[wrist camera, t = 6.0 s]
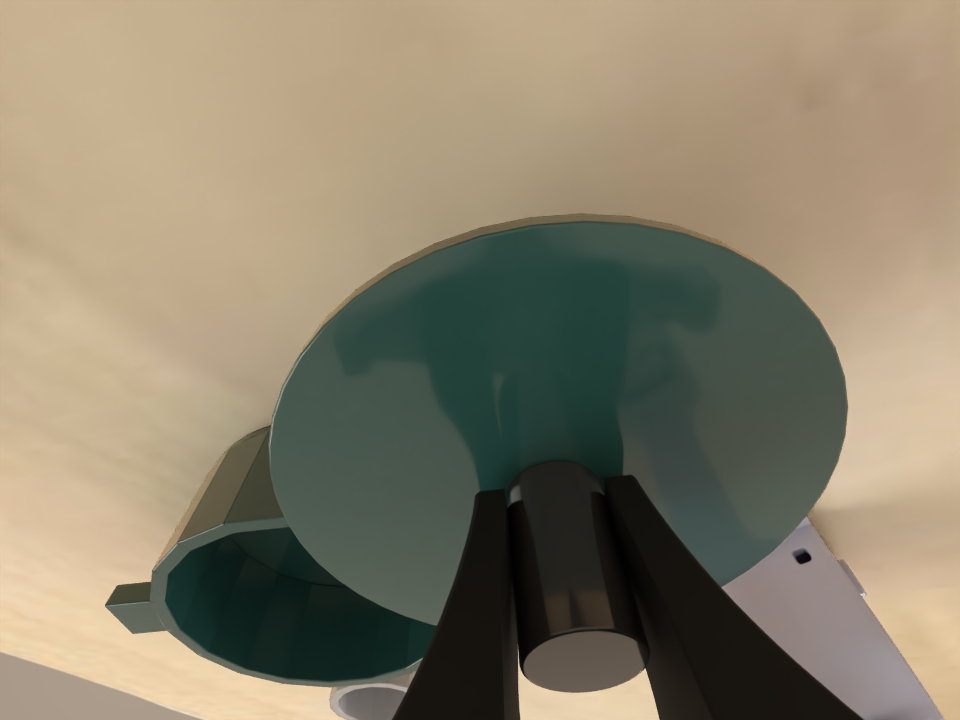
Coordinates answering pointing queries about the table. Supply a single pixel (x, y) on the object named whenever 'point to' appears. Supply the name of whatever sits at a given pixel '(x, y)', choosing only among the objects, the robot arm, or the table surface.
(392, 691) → the cup
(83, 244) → the table surface
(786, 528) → the pan lid
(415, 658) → the pan
